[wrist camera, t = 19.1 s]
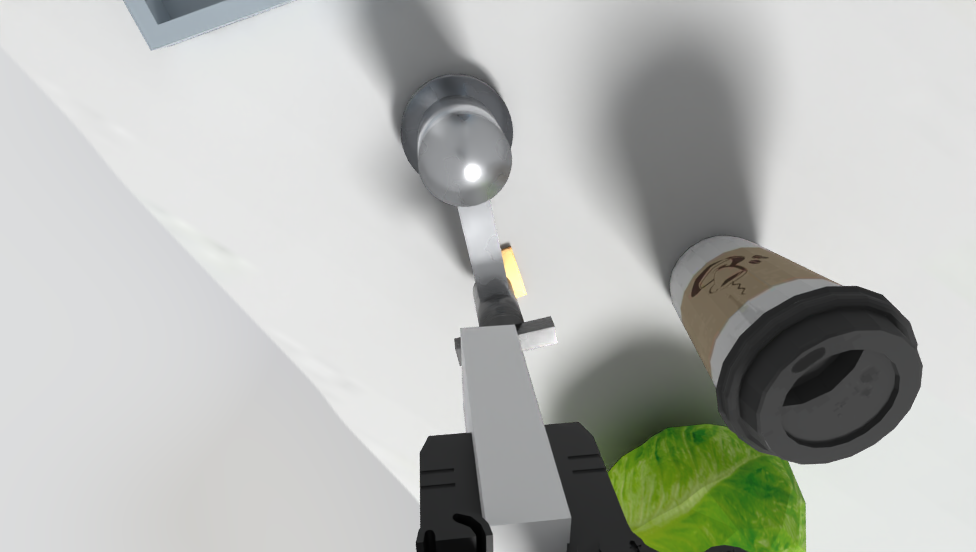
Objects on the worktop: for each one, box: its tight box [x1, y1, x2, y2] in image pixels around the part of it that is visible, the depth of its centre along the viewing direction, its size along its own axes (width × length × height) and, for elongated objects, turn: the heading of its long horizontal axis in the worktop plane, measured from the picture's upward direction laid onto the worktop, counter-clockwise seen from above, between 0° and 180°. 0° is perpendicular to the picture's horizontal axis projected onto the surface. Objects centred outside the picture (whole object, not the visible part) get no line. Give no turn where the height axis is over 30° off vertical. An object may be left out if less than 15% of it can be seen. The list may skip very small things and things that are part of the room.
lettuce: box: [608, 424, 806, 552], centre depth 47 cm, size 15×20×14 cm
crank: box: [417, 95, 558, 366], centre depth 35 cm, size 15×6×8 cm, turn 12°
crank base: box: [401, 74, 527, 298], centre depth 39 cm, size 16×7×1 cm, turn 18°
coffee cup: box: [669, 236, 923, 464], centre depth 38 cm, size 11×11×15 cm
